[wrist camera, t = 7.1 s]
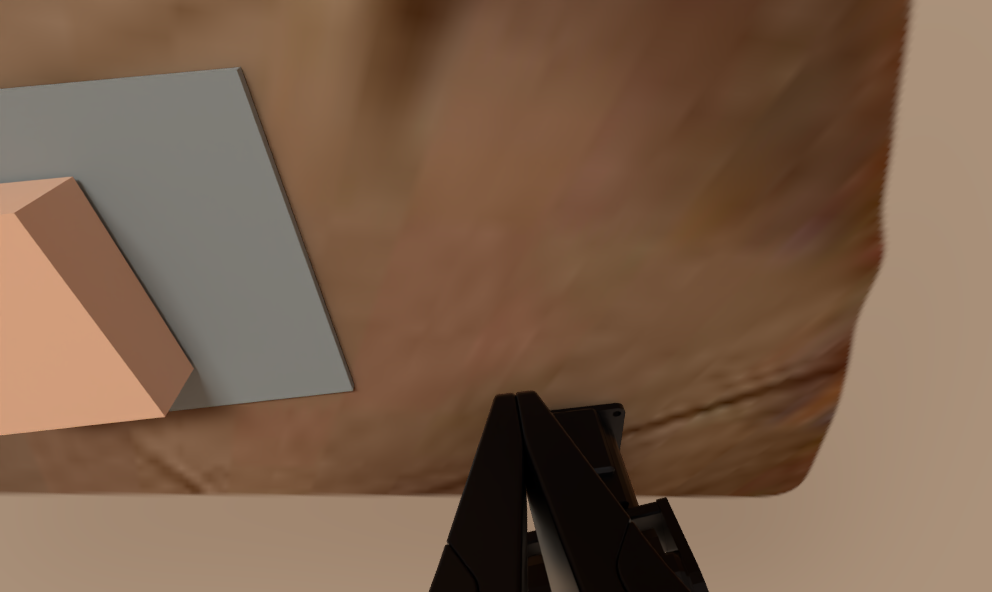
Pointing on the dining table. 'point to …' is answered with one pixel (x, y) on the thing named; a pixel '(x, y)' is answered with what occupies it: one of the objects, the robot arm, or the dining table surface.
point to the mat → (190, 222)
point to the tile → (75, 319)
